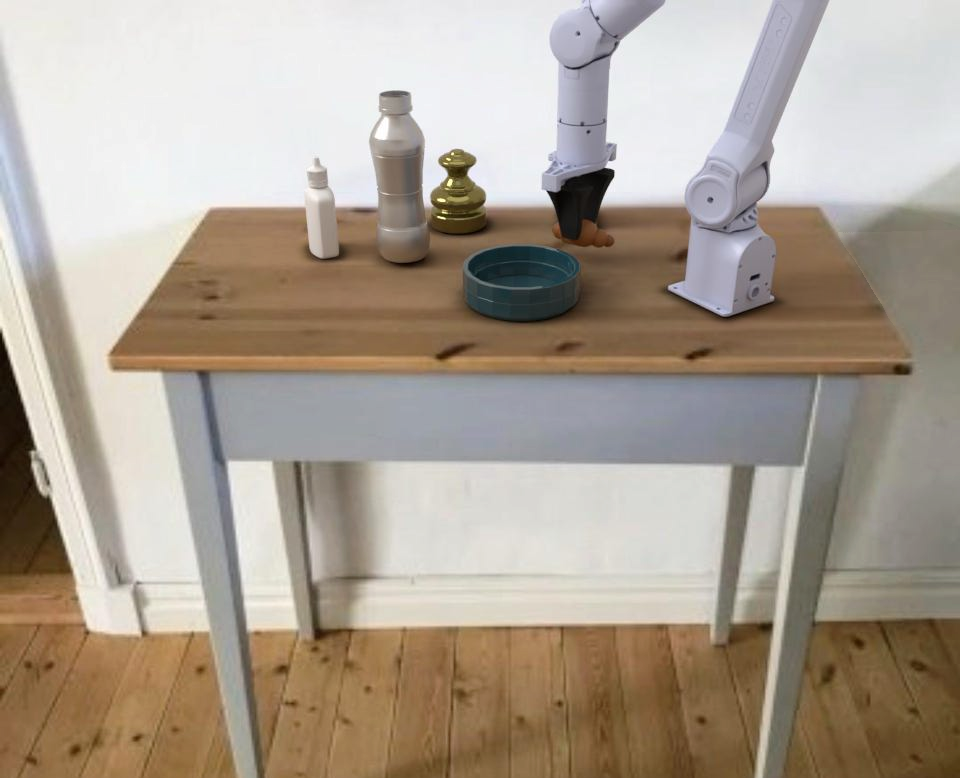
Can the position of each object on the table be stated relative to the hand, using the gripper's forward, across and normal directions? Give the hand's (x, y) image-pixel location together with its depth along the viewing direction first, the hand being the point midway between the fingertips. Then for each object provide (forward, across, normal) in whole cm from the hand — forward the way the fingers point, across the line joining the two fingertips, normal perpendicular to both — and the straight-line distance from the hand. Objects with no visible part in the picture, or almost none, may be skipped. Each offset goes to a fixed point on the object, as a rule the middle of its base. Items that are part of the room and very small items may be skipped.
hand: (577, 233), depth 130 cm
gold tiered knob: (+4, -3, -20) cm, 20 cm away
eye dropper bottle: (+4, +14, -29) cm, 32 cm away
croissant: (+1, 0, 0) cm, 1 cm away
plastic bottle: (+4, +11, -19) cm, 22 cm away
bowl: (+4, +13, 0) cm, 14 cm away
